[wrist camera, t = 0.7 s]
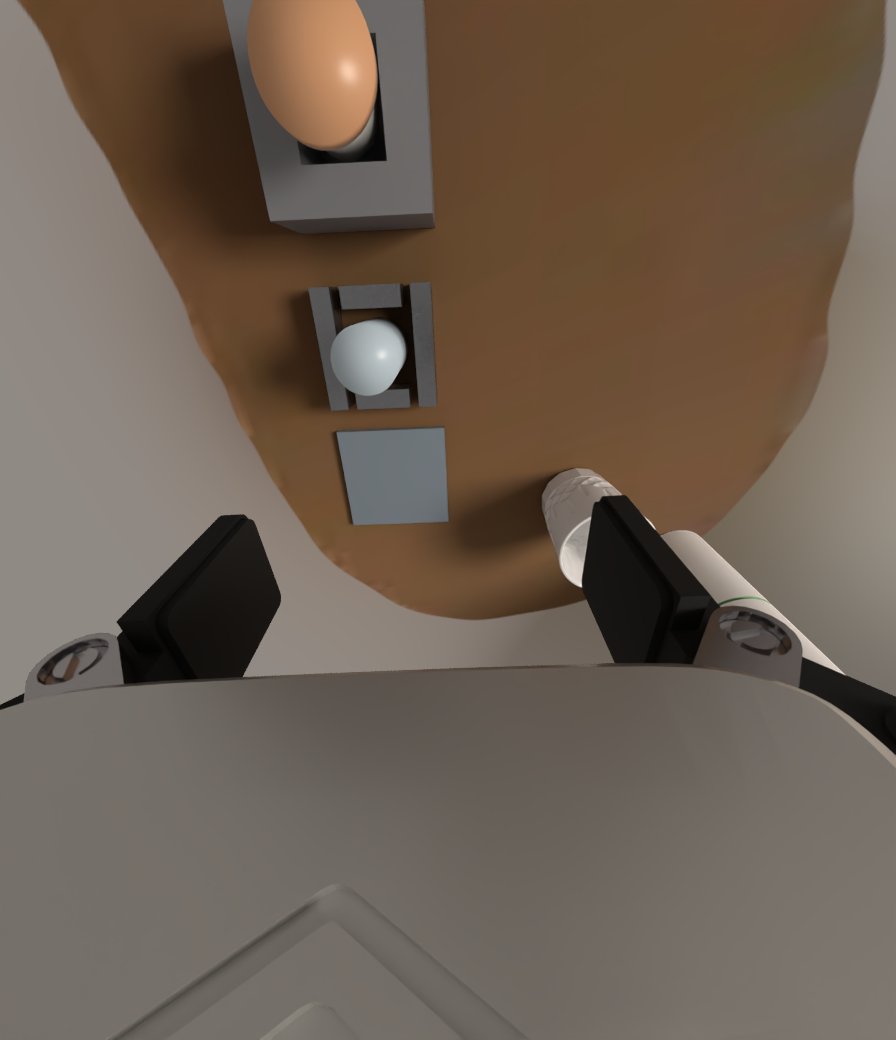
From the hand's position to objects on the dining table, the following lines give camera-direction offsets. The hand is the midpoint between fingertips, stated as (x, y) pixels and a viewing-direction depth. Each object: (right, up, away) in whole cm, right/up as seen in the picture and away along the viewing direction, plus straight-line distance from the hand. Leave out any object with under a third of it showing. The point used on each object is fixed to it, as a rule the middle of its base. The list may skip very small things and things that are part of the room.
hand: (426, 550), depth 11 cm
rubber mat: (-5, +5, +28) cm, 29 cm away
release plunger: (-6, +25, +12) cm, 28 cm away
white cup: (+14, +3, +30) cm, 33 cm away
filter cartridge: (-5, +16, +22) cm, 28 cm away
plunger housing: (-6, +27, +16) cm, 31 cm away
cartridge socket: (-5, +15, +22) cm, 28 cm away
